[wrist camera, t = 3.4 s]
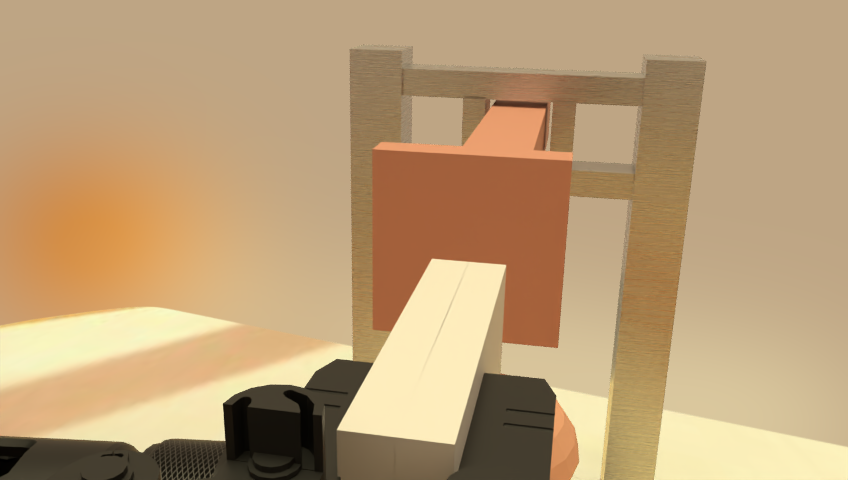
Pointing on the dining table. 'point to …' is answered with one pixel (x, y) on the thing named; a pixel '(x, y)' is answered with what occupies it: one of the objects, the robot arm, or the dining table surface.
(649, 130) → the frame
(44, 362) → the dining table surface
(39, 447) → the muzzle brake
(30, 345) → the dining table surface
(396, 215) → the bar
